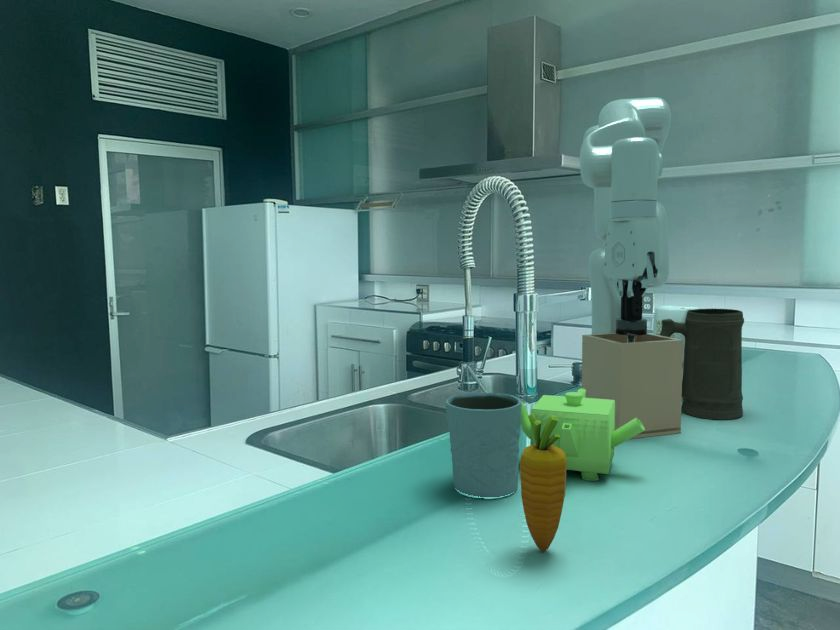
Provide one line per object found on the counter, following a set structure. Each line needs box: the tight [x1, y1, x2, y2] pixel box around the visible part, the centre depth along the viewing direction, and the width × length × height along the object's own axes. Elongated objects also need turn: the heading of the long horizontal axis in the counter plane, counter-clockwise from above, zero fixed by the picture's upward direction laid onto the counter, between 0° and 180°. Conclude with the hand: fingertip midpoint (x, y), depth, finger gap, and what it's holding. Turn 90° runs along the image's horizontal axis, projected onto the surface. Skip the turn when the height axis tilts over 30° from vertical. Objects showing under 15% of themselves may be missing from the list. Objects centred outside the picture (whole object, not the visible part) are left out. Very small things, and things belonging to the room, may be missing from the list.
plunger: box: [615, 318, 648, 343], centre depth 112 cm, size 9×9×15 cm
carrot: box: [519, 413, 567, 552], centre depth 67 cm, size 5×5×15 cm
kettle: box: [520, 388, 645, 481], centre depth 92 cm, size 15×14×11 cm
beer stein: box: [660, 308, 745, 421], centre depth 121 cm, size 15×11×20 cm
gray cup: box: [445, 392, 523, 497], centre depth 86 cm, size 10×10×12 cm
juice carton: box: [652, 304, 701, 401], centre depth 135 cm, size 8×9×19 cm
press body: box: [581, 332, 683, 440], centre depth 114 cm, size 14×12×16 cm
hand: (631, 319), depth 111 cm, fingers closed
